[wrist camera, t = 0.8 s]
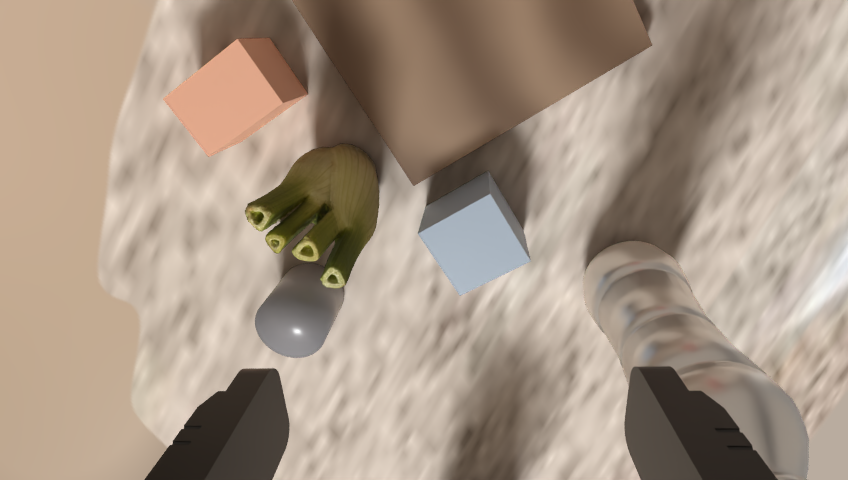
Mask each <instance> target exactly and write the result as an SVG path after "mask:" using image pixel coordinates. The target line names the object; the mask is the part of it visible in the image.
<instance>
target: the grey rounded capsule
mask: <svg viewBox="0 0 848 480" xmlns="http://www.w3.org/2000/svg"><path fill="white" fill-rule="evenodd" d="M324 268H325V267H323V266H321V265H317V264H311V263H306V264H300V265H297V266H295V267H293V268H291V269H290V270H289V271H288V272H287V273H286V275H285V276H284V277H283V278H282V280H281V281H280V282H279V284H278V285H277V286H276V287H275V289H274V290H273V291H272V293H271V294H270V295H269V296H268V298H267V299H266V300H265V302H264V303H263V304H262V305H261V307H260V308H259V309H258V311H257V314H256V317H255V326H256V330H257V333H258V335H259V337H260V338H261V340H262V341H263V342H264V343H265V344H266V346H268V347H269V348H270V349H271V350H273V351H275V352H276V353H278V354H281V355H283V356H287V357H293V358H301V357H307V356H310V355H312V354H314V353H315V352H317V351H318V350H319V349H320V348H321V347H322V345H323V343H324V341H325V339H326V337H327V335H328V333H329V331H330V329H331V327H332V325H333V323H334V321H335V319H336V317H337V315H338V313H339V310H340V308H341V306H342V304H343V301H344V289H343V287H341V288H335V289H334V288H327V287H325V286H324V285H323V284H322V281H321V280H320V278H321V276H322V274H323V271H324Z"/></svg>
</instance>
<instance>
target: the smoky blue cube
mask: <svg viewBox="0 0 848 480" xmlns="http://www.w3.org/2000/svg"><path fill="white" fill-rule="evenodd" d="M418 235H419V236H420V238H421V239H422V240H423V242H424V243H425V245H426V246H427V248H428V249H429V251H430V252H431V254H432V255H433V257H434V258H435V260H436V261H437V263H438V264H439V266H440V267H441V269H442V270H443V272H444V273H445V275H446V276H447V277H448V279H449V280H450V282H451V283H452V285H453V286H454V288H455V289H456V291H457V292H458V294H459V295H460V296H461V295H463V294H465V293H467V292H469V291H471V290H473V289H475V288H477V287H479V286H481V285H483V284H485V283H487V282H489V281H491V280H493V279H495V278H498V277H500V276H502V275H504V274H506V273H508V272H510V271H512V270H514V269H516V268H518V267H520V266H522V265H524V264H526V263H528V262H530V261H531V260H530V256H529V252H528V248H527V243H526V239H525V235H524V230H523V229H522V227H521V225H520V224H519V222H518V220H517V218H516V217H515V215H514V213H513V212H512V210H511V208H510V207H509V205H508V203H507V202H506V200H505V198H504V197H503V195H502V193H501V191H500V190H499V188H498V186H497V185H496V183H495V181H494V180H493V178H492V176H491V175H490V173H489V171H487V172H485V173H484V174H482V175H480V176H478V177H476V178H475V179H473V180H471V181H469V182H468V183H466V184H464V185H462V186H461V187H459V188H457V189H455V190H454V191H452V192H450V193H448V194H447V195H445V196H443V197H441V198H440V199H438V200H436V201H434V202H433V203H431V204H429V205H427V206H426V207H425V211H424V214H423V218H422V221H421V225H420V228H419V232H418Z"/></svg>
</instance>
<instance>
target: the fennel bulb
mask: <svg viewBox="0 0 848 480" xmlns="http://www.w3.org/2000/svg"><path fill="white" fill-rule="evenodd" d="M378 209H379V187H378V178H377V174H376V168H375V165H374V163H373V161H372V160H371V158H370V157H369V156H368V155H367V154H366V153H365V152H364V151H362V150H361V149H359V148H358V147H356V146H354V145H350V144H339V145H337V146H335V147H321V148H318V149H313V150H311V151H309V152H308V153H305V154H304V155H303V156H301V157H300V158H299V159H298V160H297V161H296V162H295V163H294V165H293V166H292V167H291V169H290V171H289V172H288V174H287V176H286V177H285V179H284V180H283V182H282V183H281V184H280V185H279V186H278V187H276V188H275V189H274V190H272V191H271V192H269V193H268V194H266V195H264V196H262V197H261V198H258V199H257V200H255V201H253V202H251V203H249V204H248V206H247V208H246V210H245V214H246V217H247V220H248V222H250V223H251V224H252V225H253V226H254V227H255V228H256V229H257V230H258V231H263V230H265V229H267V228H268V227H270V226H271V225H273V224H275V223H277V221H280V224H278V225H277V226H275V227H274V228H273V229H272V230H271V231H270V232H268V234H267V235H266V238H265V240H266V242H267V244H268V245H269V247H270V248H271V249H272V250H273V251H274V252H275V253H280V252H281V250H282V249H283V248H284V247H285V246H286V245H287V244H288V243H289V242H290V241H291V240H292V239H293V238H294V237H295V236H297V235H298V234H299V233H300V232H301V231H302V230H303V229H305V228H306V227H307V226H308V225H309V224H311V223H314V224H315V226H313V228H312V229H311V230H310V231H309V232H308V233H307V234H306V235H305V236H304V237H303V238H302V240H301V241H300V242H299V243H298V244H297V245H296V246H295V247H294V248H293V250H292V253H293V255H294V256H295V257H296V258H297V259H299V260H303V261H316V260H318V259H319V258H320V257H321V255H322V254H323V253H324V252H325V251H326V249H327V248H328V247H329V246H330V245H331V243H332V242H333V241H334V240H335V245H334V247H333V249H332V252H331V254H330V256H329V258H328V260H327V263H326V266H325V268H324V271H323V274H322V276H321V278H320V280H321V281H322V284H323V285H324V286H325V287H327V288H334V289H335V288H341V287H343V286H344V285H346V283H347V281H348V279H349V276H350V273H351V271H352V268H353V266H354V264H355V262H356V259H357V257H358V256H359V254H360V253H361V251H362V249H363V248H364V246H365V245H366V244H367V242H368V241H369V240H370V238H371V237H372V236H373V233H374V231H375V228H376V223H377V217H378V212H379V211H378Z"/></svg>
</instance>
